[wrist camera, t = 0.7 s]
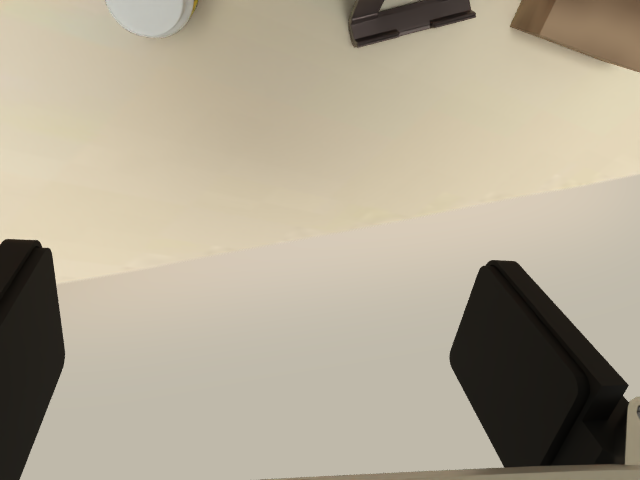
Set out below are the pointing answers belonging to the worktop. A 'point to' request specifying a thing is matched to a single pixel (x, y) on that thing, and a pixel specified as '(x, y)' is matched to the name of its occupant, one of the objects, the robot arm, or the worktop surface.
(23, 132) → the worktop surface
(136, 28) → the supplement bottle
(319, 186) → the worktop surface
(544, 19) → the walnut block
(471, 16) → the portable electronic device stand
